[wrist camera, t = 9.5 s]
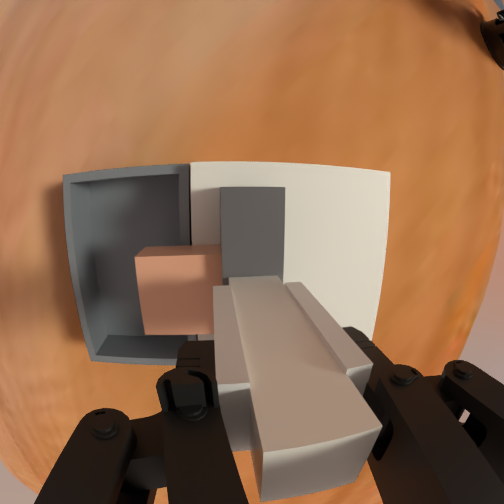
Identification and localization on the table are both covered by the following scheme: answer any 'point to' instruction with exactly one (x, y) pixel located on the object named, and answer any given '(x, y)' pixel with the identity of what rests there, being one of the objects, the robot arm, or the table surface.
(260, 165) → the plate
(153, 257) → the tile
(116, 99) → the table surface
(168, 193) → the box
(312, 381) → the scraper
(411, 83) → the table surface
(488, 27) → the french press
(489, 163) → the table surface
